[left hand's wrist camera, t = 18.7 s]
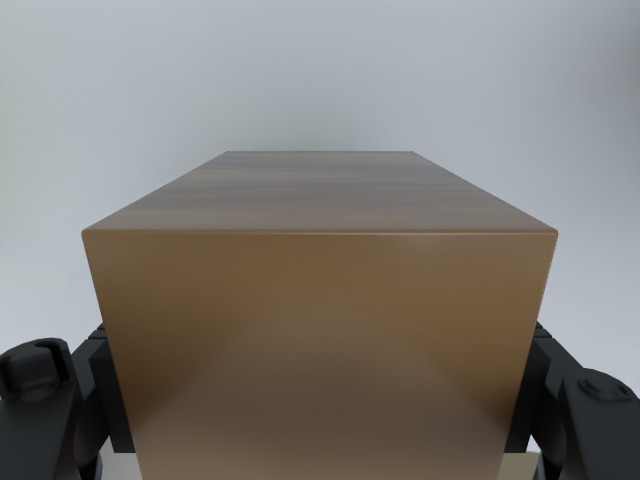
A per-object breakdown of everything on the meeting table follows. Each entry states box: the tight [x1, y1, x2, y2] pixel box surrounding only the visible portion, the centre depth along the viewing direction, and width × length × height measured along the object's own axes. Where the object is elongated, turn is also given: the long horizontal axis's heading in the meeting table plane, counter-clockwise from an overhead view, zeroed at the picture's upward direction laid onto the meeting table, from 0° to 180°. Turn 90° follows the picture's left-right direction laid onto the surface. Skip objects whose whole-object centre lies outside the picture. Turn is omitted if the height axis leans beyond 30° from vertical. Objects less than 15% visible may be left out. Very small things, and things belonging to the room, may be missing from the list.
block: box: [81, 151, 558, 480], centre depth 13 cm, size 9×8×10 cm
